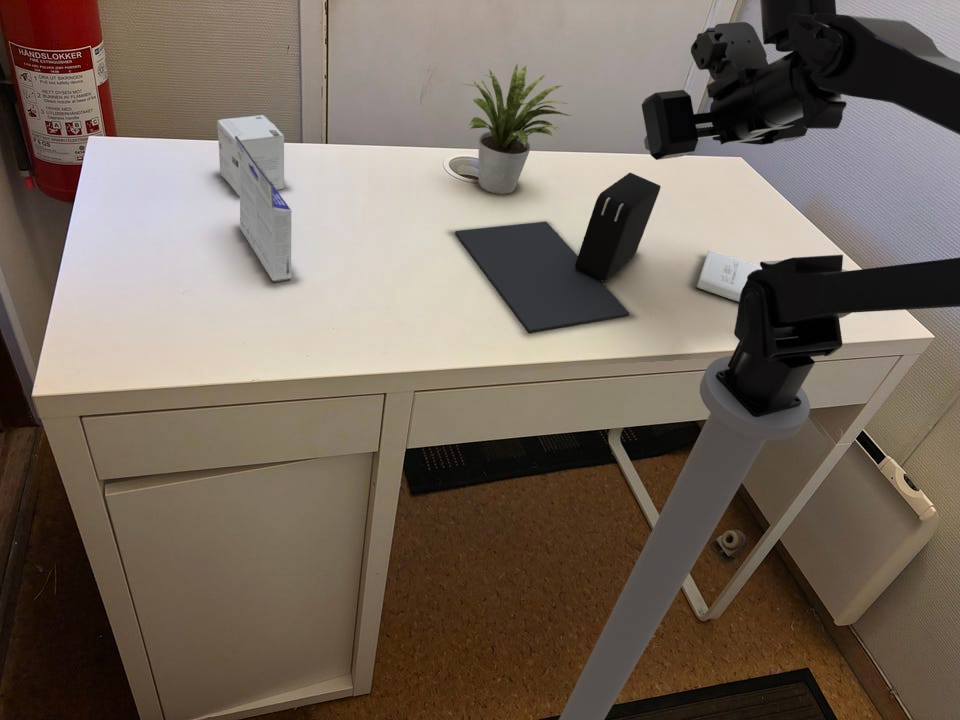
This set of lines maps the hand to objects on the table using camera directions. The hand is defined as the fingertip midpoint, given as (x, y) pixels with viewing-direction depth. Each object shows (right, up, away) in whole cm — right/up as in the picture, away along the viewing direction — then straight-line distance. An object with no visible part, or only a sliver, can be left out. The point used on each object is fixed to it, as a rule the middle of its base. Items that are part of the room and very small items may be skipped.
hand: (680, 139), depth 86 cm
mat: (-16, -15, +3) cm, 22 cm away
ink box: (-47, -13, -2) cm, 48 cm away
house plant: (-21, -2, +18) cm, 28 cm away
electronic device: (-7, -13, +7) cm, 17 cm away
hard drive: (+11, -16, +8) cm, 21 cm away
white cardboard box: (-51, -3, +9) cm, 52 cm away
